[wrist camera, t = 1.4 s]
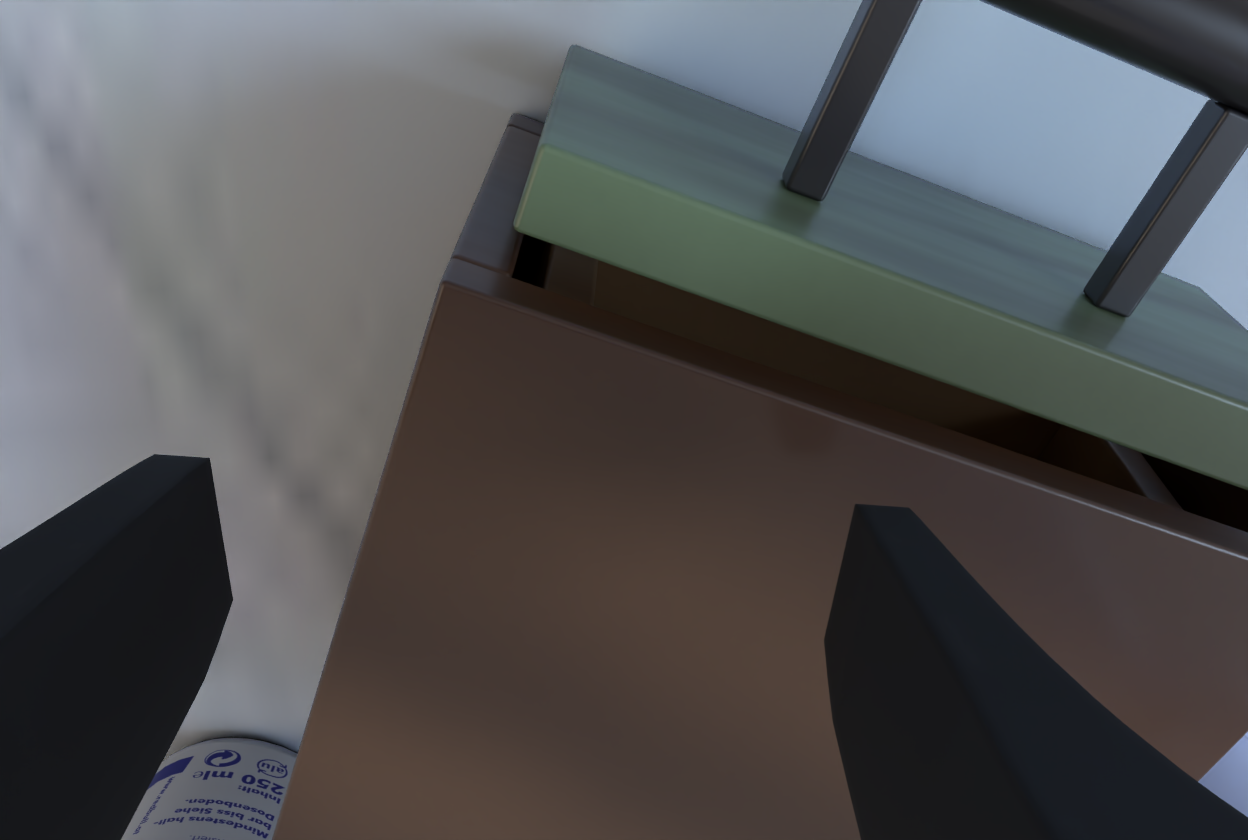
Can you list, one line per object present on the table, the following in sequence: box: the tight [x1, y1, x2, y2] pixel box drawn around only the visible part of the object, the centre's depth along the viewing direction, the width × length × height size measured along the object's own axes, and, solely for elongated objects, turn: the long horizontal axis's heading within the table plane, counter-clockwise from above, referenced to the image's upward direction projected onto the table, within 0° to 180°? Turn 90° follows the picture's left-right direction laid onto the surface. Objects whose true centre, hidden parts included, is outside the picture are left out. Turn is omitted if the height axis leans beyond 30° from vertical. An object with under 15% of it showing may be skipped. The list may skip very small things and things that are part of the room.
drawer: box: [513, 0, 1248, 510], centre depth 18 cm, size 17×12×6 cm
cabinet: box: [272, 114, 1248, 840], centre depth 20 cm, size 14×14×8 cm
